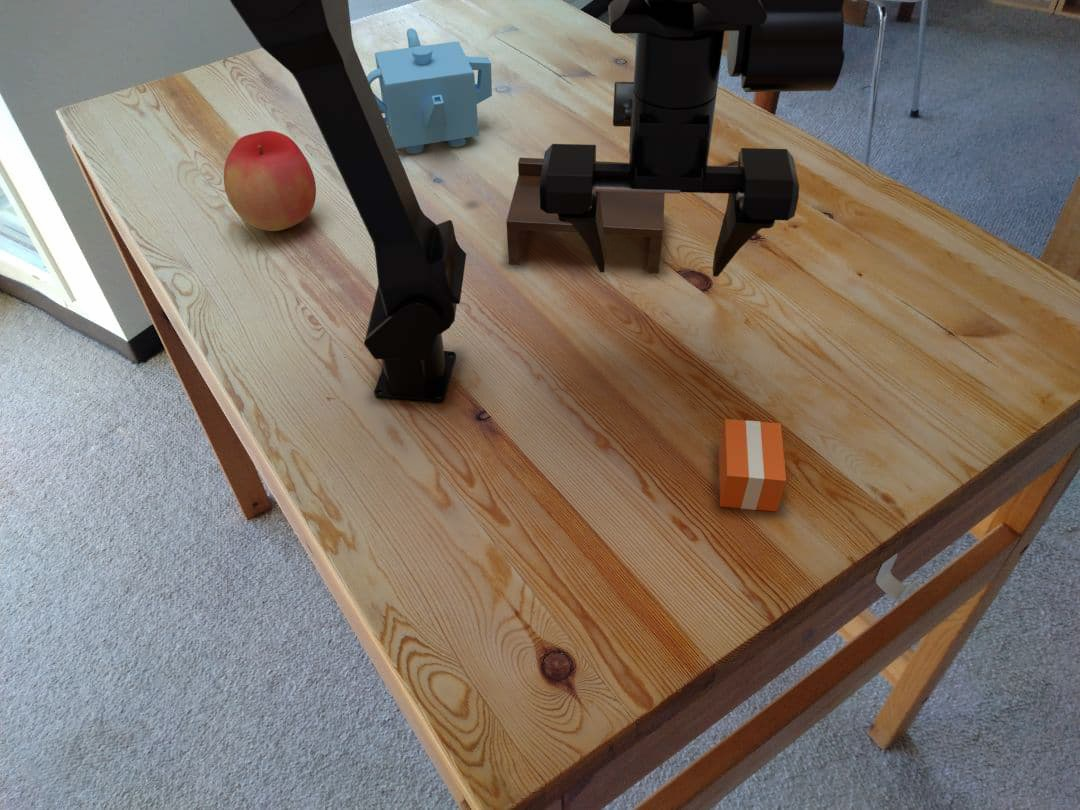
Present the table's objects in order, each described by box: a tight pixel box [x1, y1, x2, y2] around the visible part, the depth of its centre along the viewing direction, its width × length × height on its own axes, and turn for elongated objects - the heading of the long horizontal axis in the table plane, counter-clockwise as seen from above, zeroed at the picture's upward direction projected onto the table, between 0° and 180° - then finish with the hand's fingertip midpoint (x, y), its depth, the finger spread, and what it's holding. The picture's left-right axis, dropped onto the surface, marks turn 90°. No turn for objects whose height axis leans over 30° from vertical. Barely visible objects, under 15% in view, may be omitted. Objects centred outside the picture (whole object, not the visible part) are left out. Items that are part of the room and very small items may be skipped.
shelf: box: [505, 157, 666, 274], centre depth 91 cm, size 10×16×7 cm, turn 83°
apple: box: [223, 130, 317, 232], centre depth 93 cm, size 10×10×10 cm
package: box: [718, 418, 787, 512], centre depth 69 cm, size 6×4×4 cm
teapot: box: [366, 27, 493, 154], centre depth 107 cm, size 16×18×11 cm
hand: (658, 271), depth 70 cm, fingers open, 9 cm apart
